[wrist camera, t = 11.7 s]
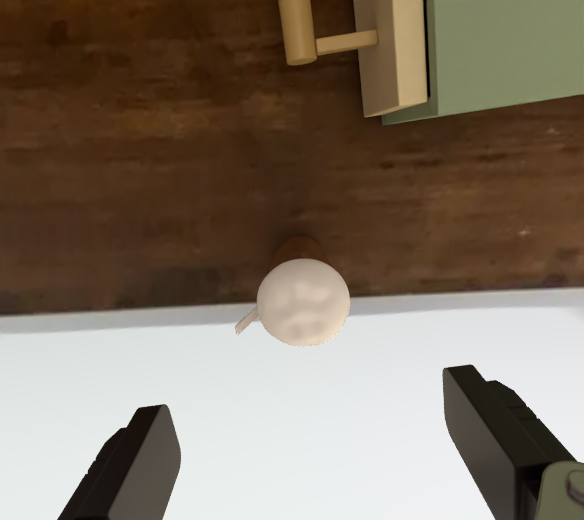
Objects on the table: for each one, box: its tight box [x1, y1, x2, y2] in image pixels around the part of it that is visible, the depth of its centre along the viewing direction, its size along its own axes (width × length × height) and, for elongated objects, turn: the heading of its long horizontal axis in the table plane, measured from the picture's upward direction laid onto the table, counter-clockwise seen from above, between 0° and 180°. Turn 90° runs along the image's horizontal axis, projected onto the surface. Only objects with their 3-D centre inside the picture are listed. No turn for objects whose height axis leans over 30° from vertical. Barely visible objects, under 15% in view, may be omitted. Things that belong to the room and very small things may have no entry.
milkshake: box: [235, 235, 350, 346], centre depth 22 cm, size 5×5×10 cm
